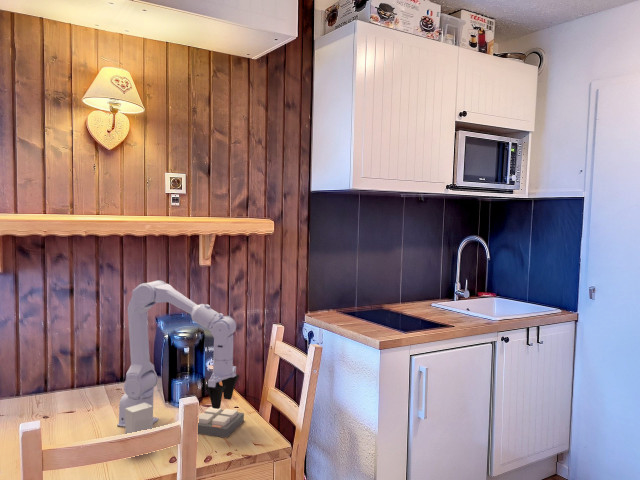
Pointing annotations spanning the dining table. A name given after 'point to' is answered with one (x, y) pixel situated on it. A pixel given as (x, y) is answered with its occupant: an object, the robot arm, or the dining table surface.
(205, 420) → the key
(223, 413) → the key
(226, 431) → the console
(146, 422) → the skincare box
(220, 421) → the key
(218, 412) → the key
